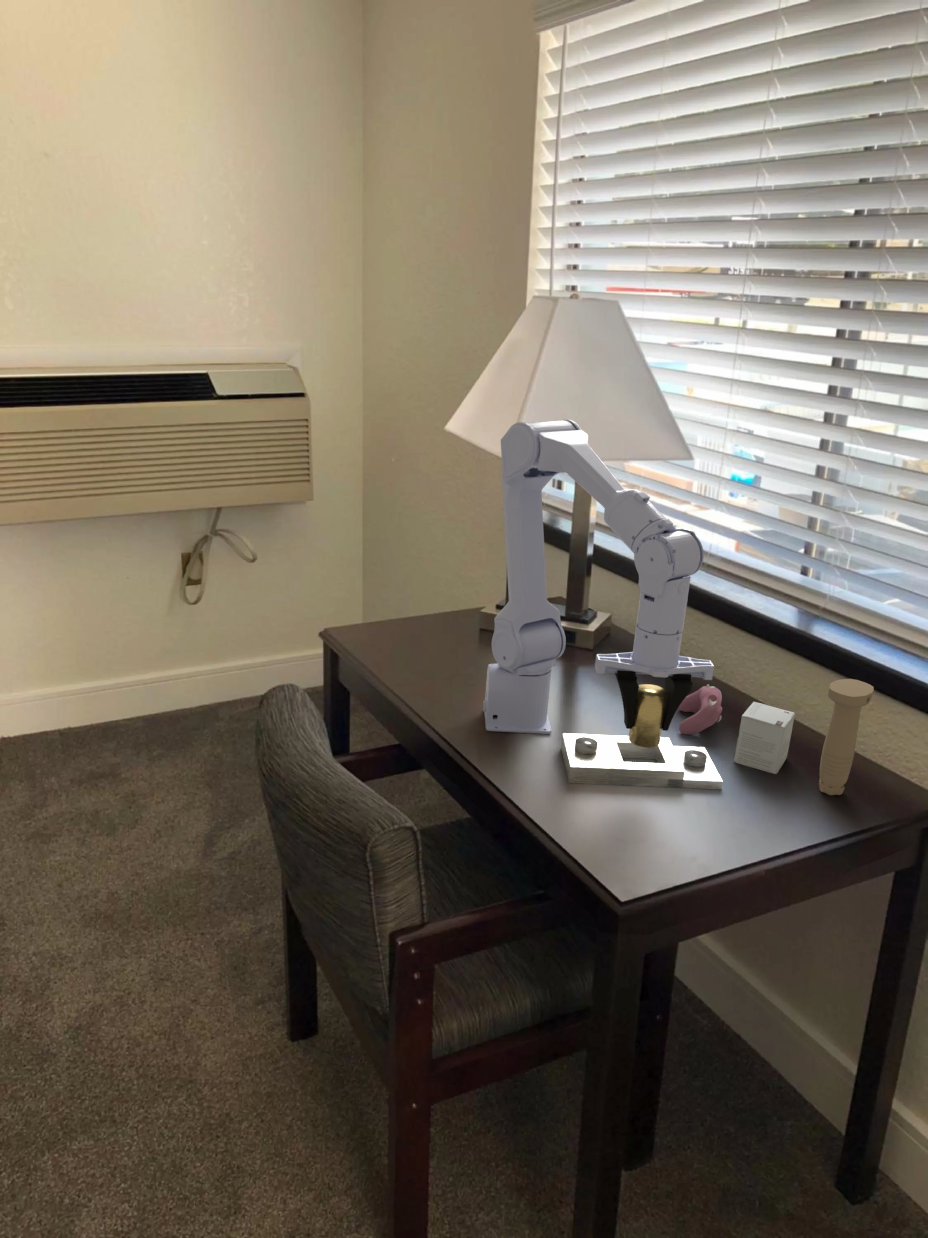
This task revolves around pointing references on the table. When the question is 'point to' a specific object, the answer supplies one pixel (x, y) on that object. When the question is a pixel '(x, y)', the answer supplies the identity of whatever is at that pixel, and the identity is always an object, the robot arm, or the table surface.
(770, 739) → the skincare box
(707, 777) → the right chain end
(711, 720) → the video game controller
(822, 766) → the handle
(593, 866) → the table surface
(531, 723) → the robot arm
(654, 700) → the brass pin
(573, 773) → the plate
